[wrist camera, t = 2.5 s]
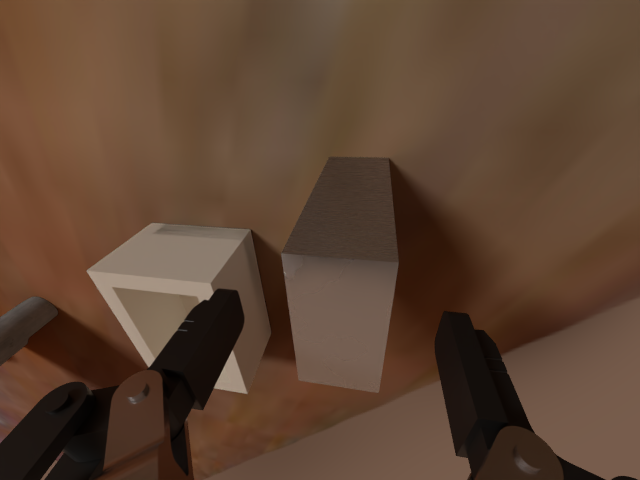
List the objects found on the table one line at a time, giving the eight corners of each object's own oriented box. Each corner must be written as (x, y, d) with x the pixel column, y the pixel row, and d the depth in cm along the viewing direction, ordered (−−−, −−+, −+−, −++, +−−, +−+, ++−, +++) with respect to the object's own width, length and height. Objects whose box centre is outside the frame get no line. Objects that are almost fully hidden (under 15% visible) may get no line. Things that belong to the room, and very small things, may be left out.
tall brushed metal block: (388, 157, 16) (398, 262, 8) (378, 254, 20) (378, 392, 12) (329, 156, 17) (281, 253, 8) (330, 250, 20) (298, 380, 12)
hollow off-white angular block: (250, 229, 21) (210, 283, 16) (271, 332, 27) (247, 393, 22) (151, 223, 22) (86, 270, 17) (194, 322, 29) (155, 378, 24)
